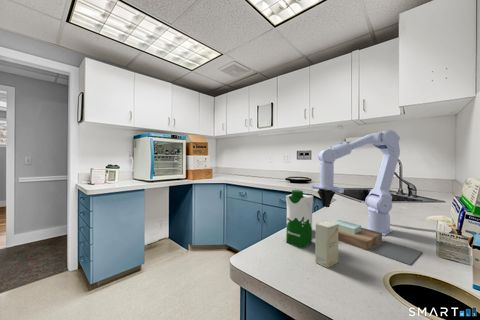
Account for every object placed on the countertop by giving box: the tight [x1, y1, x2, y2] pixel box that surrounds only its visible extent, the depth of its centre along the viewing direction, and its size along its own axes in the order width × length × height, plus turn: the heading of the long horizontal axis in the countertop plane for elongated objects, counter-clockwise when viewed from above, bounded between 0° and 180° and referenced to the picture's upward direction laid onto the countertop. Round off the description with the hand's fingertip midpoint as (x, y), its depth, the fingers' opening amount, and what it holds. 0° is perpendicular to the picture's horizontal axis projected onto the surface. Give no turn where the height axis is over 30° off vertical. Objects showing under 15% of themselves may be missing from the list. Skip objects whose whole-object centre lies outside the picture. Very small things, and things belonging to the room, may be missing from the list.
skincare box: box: [314, 220, 339, 268], centre depth 63 cm, size 6×4×12 cm
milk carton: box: [285, 189, 314, 249], centre depth 77 cm, size 9×9×20 cm
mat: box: [369, 240, 423, 266], centre depth 70 cm, size 14×11×1 cm
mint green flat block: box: [333, 219, 362, 234], centre depth 84 cm, size 6×9×2 cm, turn 37°
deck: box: [338, 227, 383, 251], centre depth 82 cm, size 14×16×3 cm
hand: (326, 206), depth 91 cm, fingers closed
